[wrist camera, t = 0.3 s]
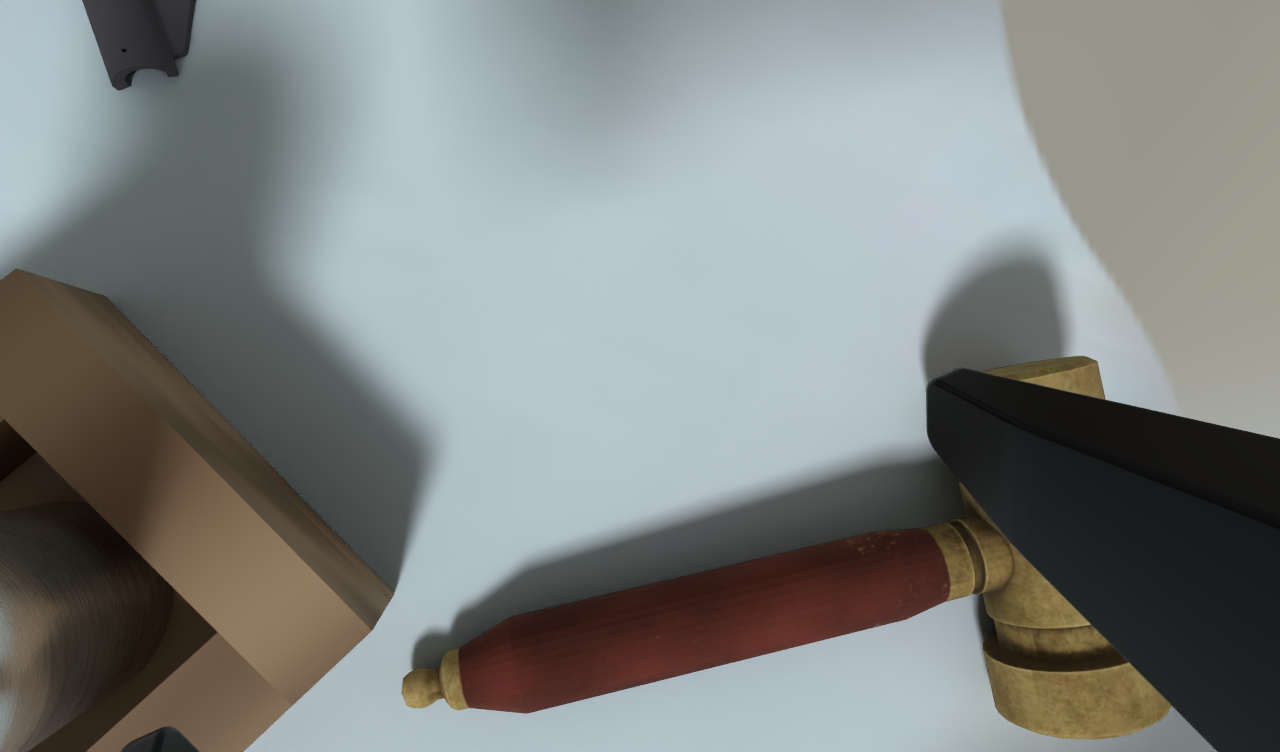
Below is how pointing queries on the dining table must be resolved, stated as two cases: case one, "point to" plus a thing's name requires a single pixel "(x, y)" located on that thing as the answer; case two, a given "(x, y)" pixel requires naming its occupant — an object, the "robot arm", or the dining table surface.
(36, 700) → the gold-topped cylinder
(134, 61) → the bracket
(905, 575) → the gavel
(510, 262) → the dining table surface
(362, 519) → the dining table surface
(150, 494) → the socket block
